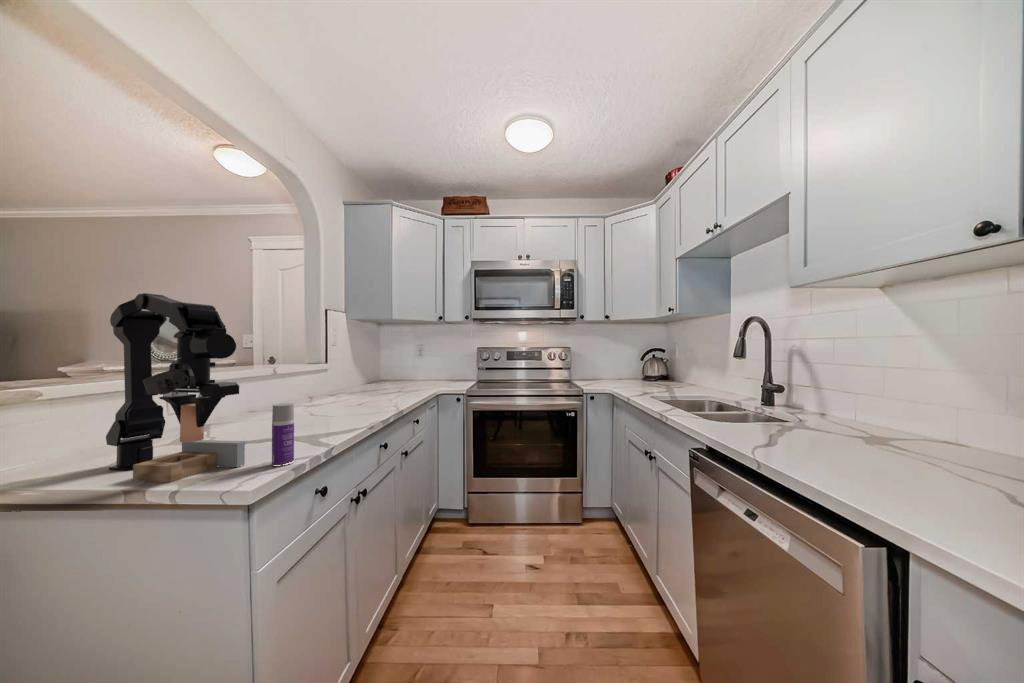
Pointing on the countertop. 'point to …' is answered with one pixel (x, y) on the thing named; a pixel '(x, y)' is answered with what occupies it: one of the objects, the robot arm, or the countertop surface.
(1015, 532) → the countertop surface
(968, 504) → the countertop surface
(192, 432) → the dowel
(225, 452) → the backstop wall
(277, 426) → the container
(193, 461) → the socket block
